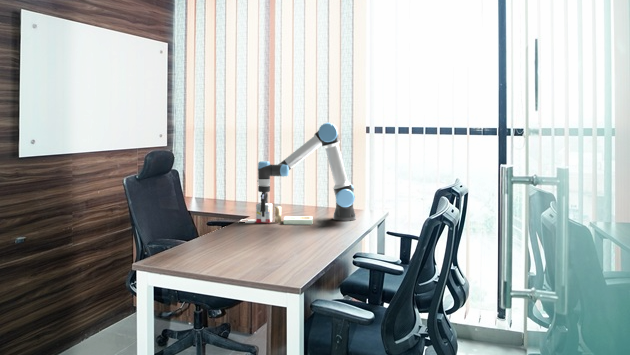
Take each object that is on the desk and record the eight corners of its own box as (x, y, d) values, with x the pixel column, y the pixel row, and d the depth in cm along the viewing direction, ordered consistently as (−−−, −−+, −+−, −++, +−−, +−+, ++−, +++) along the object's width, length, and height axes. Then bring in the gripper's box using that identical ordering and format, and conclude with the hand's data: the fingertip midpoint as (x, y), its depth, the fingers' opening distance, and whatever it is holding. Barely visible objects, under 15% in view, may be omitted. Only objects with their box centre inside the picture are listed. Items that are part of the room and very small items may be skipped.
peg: (281, 222, 312) (281, 206, 311) (280, 223, 308) (280, 207, 307) (275, 221, 312) (275, 206, 311) (274, 223, 308) (274, 207, 307)
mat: (256, 220, 318) (256, 219, 318) (254, 223, 308) (254, 222, 308) (241, 220, 318) (241, 219, 318) (238, 222, 308) (238, 222, 308)
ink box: (268, 223, 307) (268, 204, 306) (255, 222, 308) (255, 204, 307) (272, 220, 315) (272, 202, 314) (260, 220, 317) (259, 202, 316)
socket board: (312, 221, 315) (312, 216, 315) (312, 224, 303) (312, 219, 303) (285, 220, 316) (285, 216, 315) (283, 224, 304) (283, 219, 303)
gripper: (260, 183, 320) (260, 217, 323) (255, 187, 299) (256, 223, 301) (271, 183, 320) (271, 217, 322) (268, 187, 298) (268, 223, 301)
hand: (264, 220), depth 312 cm, fingers closed on ink box, 9 cm apart
